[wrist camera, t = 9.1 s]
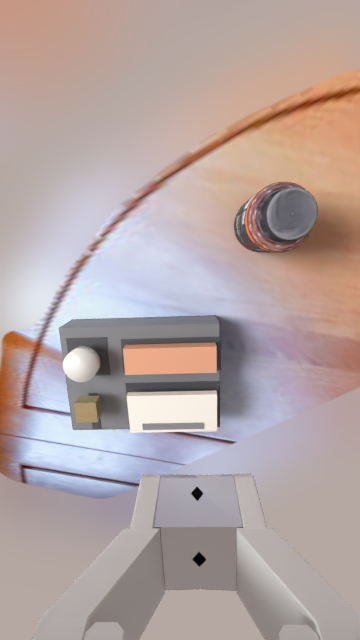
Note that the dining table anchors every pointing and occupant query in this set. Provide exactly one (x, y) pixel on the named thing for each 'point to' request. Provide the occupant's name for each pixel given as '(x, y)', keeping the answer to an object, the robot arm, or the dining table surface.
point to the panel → (111, 374)
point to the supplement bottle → (276, 218)
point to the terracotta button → (170, 358)
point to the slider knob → (87, 409)
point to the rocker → (172, 411)
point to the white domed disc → (81, 364)
